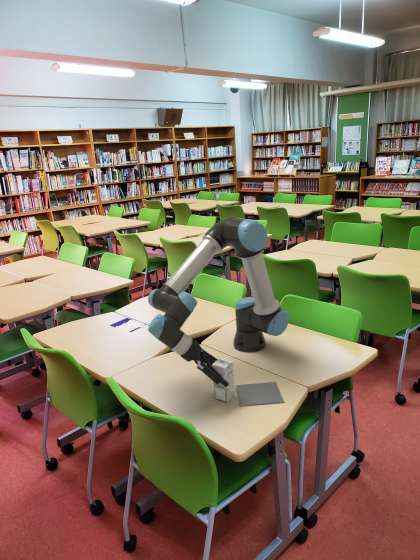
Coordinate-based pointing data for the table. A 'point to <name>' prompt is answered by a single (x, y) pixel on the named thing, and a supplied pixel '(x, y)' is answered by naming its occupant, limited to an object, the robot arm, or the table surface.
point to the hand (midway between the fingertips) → (232, 383)
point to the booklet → (122, 323)
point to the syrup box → (227, 371)
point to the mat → (258, 394)
